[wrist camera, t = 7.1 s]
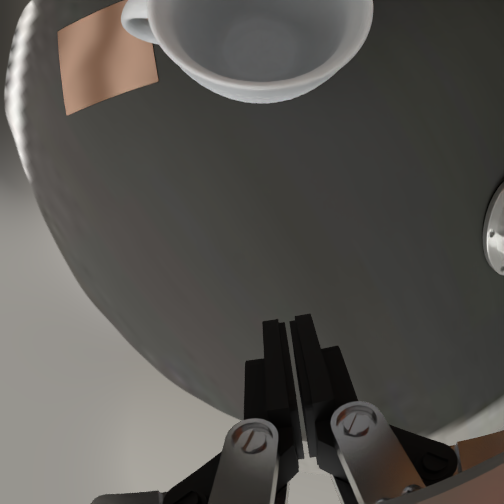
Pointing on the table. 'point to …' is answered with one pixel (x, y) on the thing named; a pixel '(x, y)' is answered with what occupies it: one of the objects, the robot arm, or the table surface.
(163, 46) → the mug
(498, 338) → the table surface
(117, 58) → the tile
